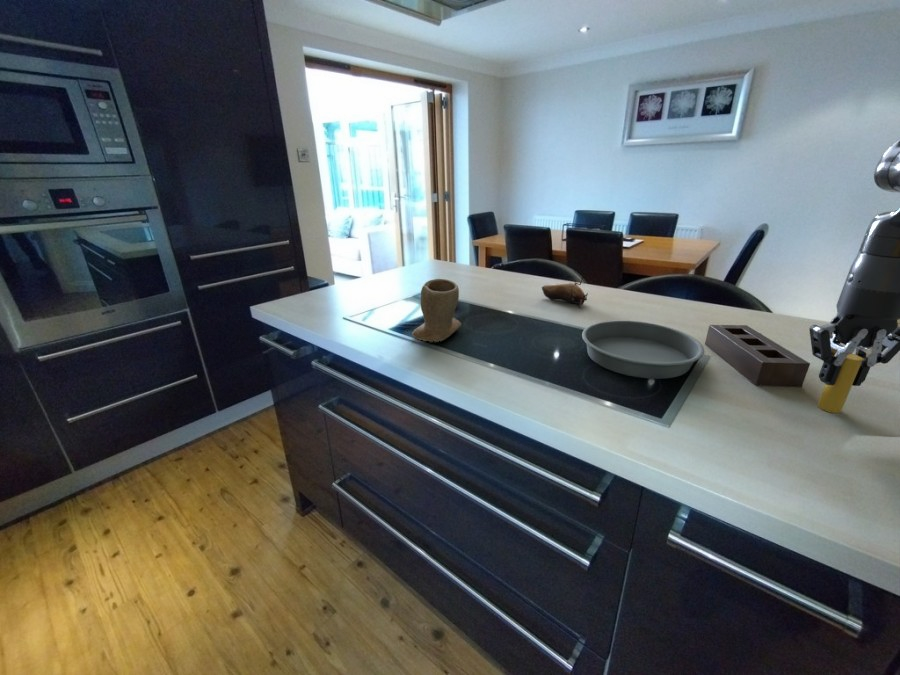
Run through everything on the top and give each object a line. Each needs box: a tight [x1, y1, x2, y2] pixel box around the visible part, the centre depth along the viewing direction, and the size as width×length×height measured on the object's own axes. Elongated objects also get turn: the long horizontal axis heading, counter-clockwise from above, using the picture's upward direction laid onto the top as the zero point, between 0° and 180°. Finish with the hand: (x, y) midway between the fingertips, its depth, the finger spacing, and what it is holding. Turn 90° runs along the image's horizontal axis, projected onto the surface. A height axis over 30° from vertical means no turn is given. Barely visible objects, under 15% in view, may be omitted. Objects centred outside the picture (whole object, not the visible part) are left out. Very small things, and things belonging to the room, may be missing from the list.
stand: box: [704, 324, 811, 388], centre depth 83 cm, size 8×20×5 cm, turn 174°
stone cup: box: [411, 278, 462, 343], centre depth 101 cm, size 15×12×15 cm
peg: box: [817, 353, 863, 414], centre depth 66 cm, size 3×3×10 cm
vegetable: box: [541, 276, 589, 308], centre depth 126 cm, size 16×11×10 cm
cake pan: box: [581, 320, 705, 380], centre depth 87 cm, size 25×25×4 cm
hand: (839, 382), depth 66 cm, fingers open, 3 cm apart
